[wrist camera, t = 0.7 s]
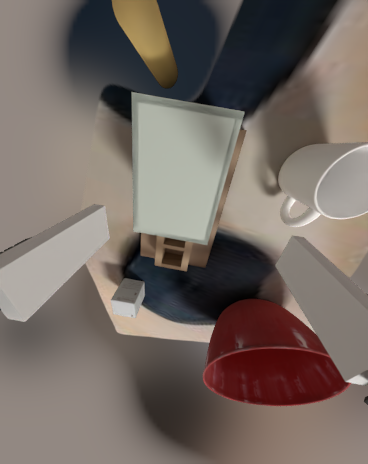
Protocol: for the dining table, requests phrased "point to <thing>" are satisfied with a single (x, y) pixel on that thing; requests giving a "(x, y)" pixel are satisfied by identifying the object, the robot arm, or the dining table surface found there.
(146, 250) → the brown wooden compartment tray
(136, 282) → the skincare box
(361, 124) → the dining table surface
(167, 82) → the pin
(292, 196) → the mug
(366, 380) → the robot arm
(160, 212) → the tray
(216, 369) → the mixing bowl
